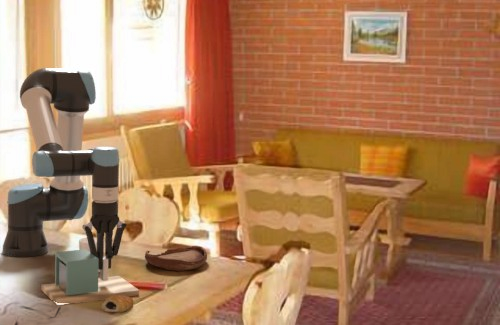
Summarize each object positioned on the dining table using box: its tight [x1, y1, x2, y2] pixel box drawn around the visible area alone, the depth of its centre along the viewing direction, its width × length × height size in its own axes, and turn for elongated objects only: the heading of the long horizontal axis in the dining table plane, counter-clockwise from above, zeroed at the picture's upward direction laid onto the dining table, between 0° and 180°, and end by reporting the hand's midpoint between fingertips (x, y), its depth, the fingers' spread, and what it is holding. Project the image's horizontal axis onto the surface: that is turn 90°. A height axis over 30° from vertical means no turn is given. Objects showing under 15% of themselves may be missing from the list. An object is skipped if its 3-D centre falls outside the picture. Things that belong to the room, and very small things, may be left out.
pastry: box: [101, 295, 134, 314], centre depth 210 cm, size 9×7×4 cm
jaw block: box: [59, 261, 66, 294], centre depth 219 cm, size 6×6×8 cm
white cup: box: [78, 236, 100, 273], centre depth 245 cm, size 8×8×10 cm
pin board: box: [40, 275, 140, 304], centre depth 223 cm, size 16×24×4 cm, turn 121°
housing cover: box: [54, 249, 99, 296], centre depth 220 cm, size 11×9×10 cm
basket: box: [144, 245, 208, 272], centre depth 258 cm, size 22×20×5 cm
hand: (104, 279), depth 225 cm, fingers closed
